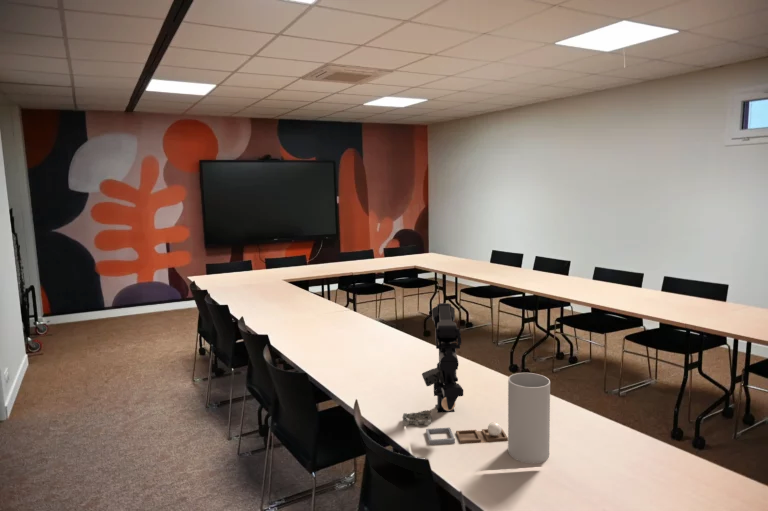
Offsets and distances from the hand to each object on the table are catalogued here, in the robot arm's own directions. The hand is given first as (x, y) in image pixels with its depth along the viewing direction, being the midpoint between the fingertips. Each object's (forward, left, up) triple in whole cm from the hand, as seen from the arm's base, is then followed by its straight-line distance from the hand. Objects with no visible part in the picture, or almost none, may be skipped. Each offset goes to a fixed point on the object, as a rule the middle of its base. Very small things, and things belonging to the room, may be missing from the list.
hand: (448, 406), depth 169 cm
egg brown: (0, 0, -1) cm, 1 cm away
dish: (0, -3, -12) cm, 12 cm away
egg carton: (-14, -9, -13) cm, 21 cm away
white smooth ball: (+1, +16, -11) cm, 19 cm away
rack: (+1, +11, -12) cm, 16 cm away
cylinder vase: (+13, +23, -12) cm, 29 cm away
